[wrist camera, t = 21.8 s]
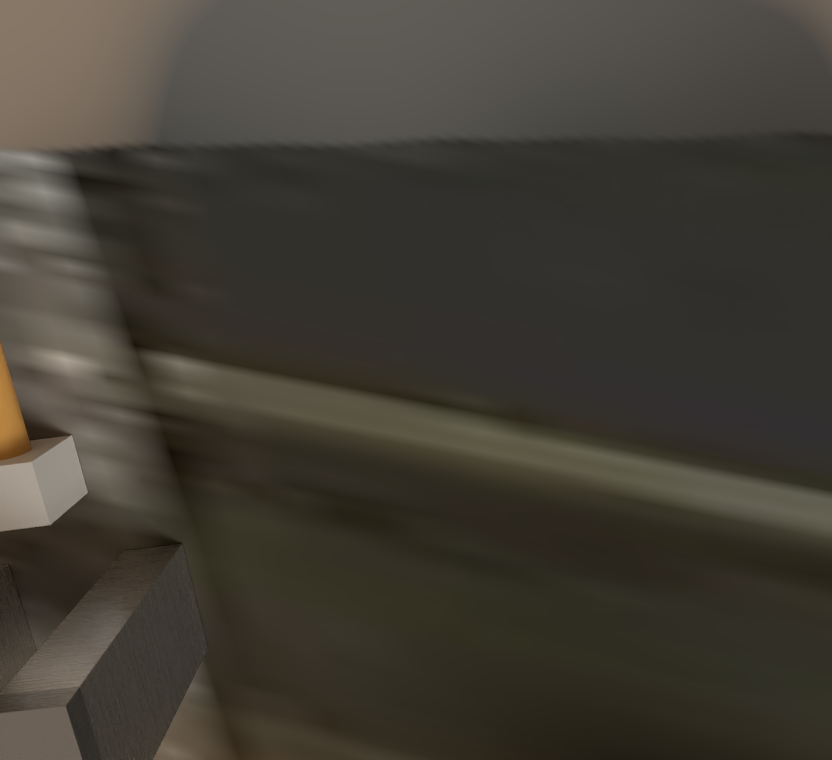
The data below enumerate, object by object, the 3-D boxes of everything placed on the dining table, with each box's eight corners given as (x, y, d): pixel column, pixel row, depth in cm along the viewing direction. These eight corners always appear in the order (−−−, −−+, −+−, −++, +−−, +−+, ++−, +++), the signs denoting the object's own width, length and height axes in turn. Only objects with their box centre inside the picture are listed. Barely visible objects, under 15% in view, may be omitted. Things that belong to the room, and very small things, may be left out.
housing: (207, 647, 36) (109, 847, 25) (-14, 672, 37) (-204, 876, 26) (182, 543, 35) (65, 705, 24) (-49, 571, 36) (-266, 741, 25)
